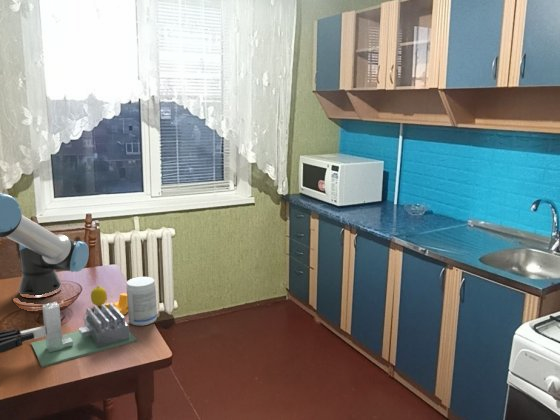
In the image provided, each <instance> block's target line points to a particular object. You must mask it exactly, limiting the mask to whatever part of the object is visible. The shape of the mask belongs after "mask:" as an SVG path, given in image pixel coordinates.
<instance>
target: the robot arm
mask: <svg viewBox="0 0 560 420" xmlns="http://www.w3.org/2000/svg"><path fill="white" fill-rule="evenodd" d="M22 213H23V212H22V209H21V207H20V203H19V202H18V201H17V200H16V199H15V197H13V196H11V195H9V194H7V193H3V192H0V239H3V238H7V239H9V240H11V241H13V242H15V243H17V244H18V245H19V250H18V251H19V257H20V266H21V274H22V276H21V279H20V284H19V288H18V294H19V293H20V294H29V295H34V296H35V295H42V294H45V293H49V292H52V291H54V290H56V289H58V288H59V287H60V285H61V286H62V283H61V281H60V278H59V277H58V274H57V272H56V271H64V272H71V273H73V272H75V273H76V272H78V273H79V272H81V271H82V270H83V269H84V268H85V267H86V265H87V263H88V261H89V255H90V253H89V252H90V251H89V245H88V244H87V243H86V242H85V241H81V240H78V241H77V240H74V239H72V238H70V237H69V236H66V235H64V234H59V233H58V234H55V233H53V232H52V231H50V230H48V229H47V228H45V227H43V226H42V225H40V224H38V223H37V222H35V221H33V220H31V219H29V218H28V217H26V216H25V215H23V214H22ZM45 336H46V330H45V326H44V325H41V326H39V327H33V328H29V329H24V330H20V328H16V329H15V328H14V329H13V328H11V329H5V330H0V354H2V353H5V352H8V351H11V350H14V349H17V348H19V347H22V346H23V342H29V341H31V340H35V339H39V338H45Z"/></svg>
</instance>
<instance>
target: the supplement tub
mask: <svg viewBox="0 0 560 420" xmlns="http://www.w3.org/2000/svg"><path fill="white" fill-rule="evenodd" d="M156 293H157V292H156V282H155V279H154V278H153V277H150V276H138V277H137V276H136V277H133V278H130V279H129V280H127V281H126V294H127V301H128V312H127V313H128V315H127V316H128V322H129V323H130V324H131V325H134V326H147V325H150V324H152V323H154V322H156V320H157V318H158V314H157V313H158V311H157V309H158V308H157V296H156V295H157V294H156Z"/></svg>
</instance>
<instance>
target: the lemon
mask: <svg viewBox="0 0 560 420" xmlns="http://www.w3.org/2000/svg"><path fill="white" fill-rule="evenodd" d="M107 297H108V295H107V291H106V289H105V288H104V287H102V286H100V285H98V286H96V287H94V288H93V289H92V290H91V293H90V299H91V303H92V304H93V305H94V306H97V307H98V308H99V307H102V306H101V304H104V305H105V304H106V302H107V299H108V298H107Z"/></svg>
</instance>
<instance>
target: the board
mask: <svg viewBox="0 0 560 420" xmlns="http://www.w3.org/2000/svg"><path fill="white" fill-rule="evenodd" d="M66 338H71V339H72V341H73V346H69V347H65V348H63V349H60V350H57V351H53V352H49V351H48V349H47V347H46V339H45V338H44V339H41V340H38V341H34V342H30V344H31V347H32V349H33V351H34V353H35V355H36V357H37V360H38V362H39V364H40V366H41V368H45V367H48V366H51V365H56V364H59V363H63V362H66V361H69V360H73V359H76V358H79V357H83V356H84V357H85V356H88V355H91V354H95V353H98V352H102V351H105V350H108V349H112V348H116V347H120V346H123V345H127V344H130V343H133V342H137V340H138V339H137V338H136V337H135V336H134V335H133V333H132V332H131V331H130V330H129V340H126V341H122V342H119V343H115V344H112V345H108V346H104V347H101V348H97V347H96V346H95V344H94V343H93V341H92V340H91V339H90V337H89V336H85V337H82V336H81V334H80V333H79V330H77V331H74V332H69V333H65V334H62V339H66Z"/></svg>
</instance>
